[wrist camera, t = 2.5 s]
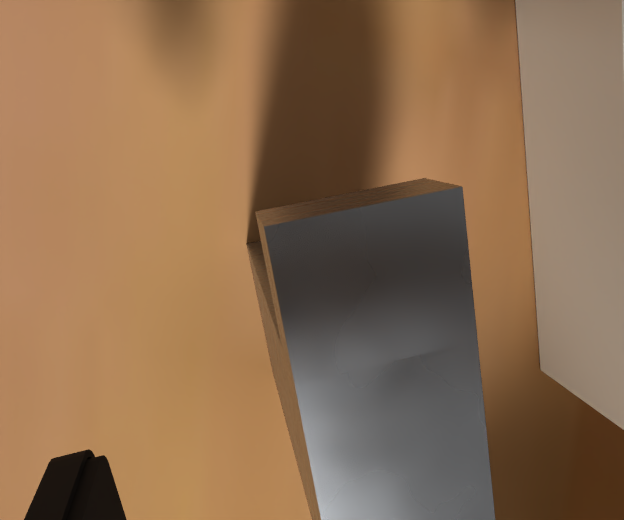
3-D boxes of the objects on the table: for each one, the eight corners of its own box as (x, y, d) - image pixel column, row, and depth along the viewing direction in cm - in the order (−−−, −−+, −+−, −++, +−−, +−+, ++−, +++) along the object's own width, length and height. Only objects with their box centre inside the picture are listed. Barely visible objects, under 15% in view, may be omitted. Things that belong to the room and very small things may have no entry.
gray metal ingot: (352, 356, 21) (502, 591, 10) (273, 374, 20) (344, 640, 10) (319, 154, 19) (462, 186, 8) (231, 171, 18) (263, 226, 8)
